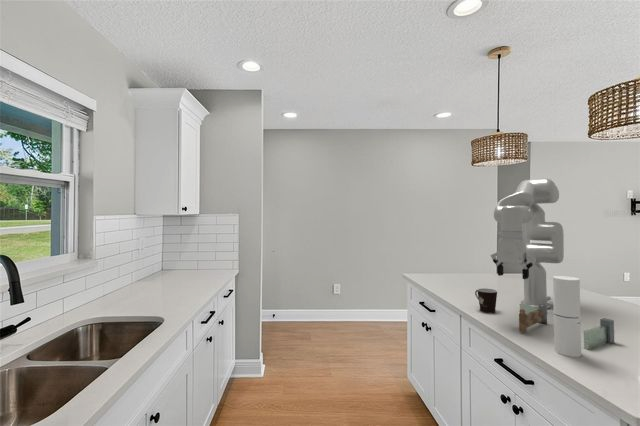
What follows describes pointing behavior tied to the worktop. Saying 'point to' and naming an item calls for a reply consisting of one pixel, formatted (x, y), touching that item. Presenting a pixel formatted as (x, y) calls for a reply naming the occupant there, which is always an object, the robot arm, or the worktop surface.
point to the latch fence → (599, 334)
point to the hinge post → (531, 309)
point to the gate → (529, 319)
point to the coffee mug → (487, 299)
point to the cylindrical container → (567, 315)
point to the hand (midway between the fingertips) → (512, 277)
